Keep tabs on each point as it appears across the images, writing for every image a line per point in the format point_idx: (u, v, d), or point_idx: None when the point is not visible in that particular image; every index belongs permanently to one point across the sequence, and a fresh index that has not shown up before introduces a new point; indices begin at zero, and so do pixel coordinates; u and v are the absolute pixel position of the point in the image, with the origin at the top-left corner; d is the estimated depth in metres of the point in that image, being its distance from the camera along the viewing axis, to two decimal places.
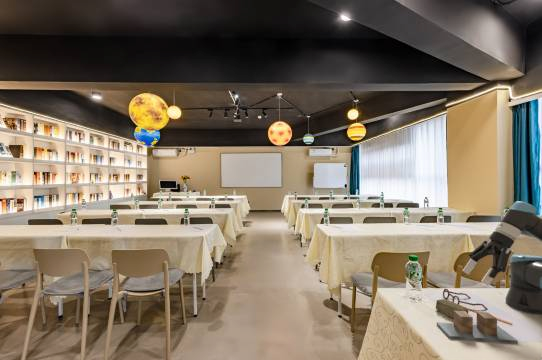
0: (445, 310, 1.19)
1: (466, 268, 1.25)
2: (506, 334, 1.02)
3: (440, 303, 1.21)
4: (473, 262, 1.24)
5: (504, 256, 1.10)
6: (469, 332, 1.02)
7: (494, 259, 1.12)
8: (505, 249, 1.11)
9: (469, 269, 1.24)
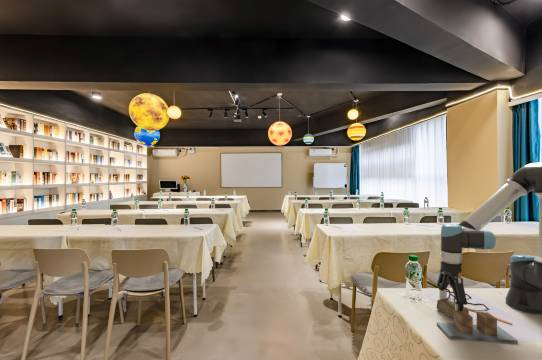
0: (445, 310, 1.19)
1: None
2: (506, 334, 1.02)
3: (441, 303, 1.22)
4: (443, 292, 1.26)
5: (459, 288, 1.12)
6: (469, 332, 1.02)
7: (454, 292, 1.14)
8: (456, 280, 1.13)
9: None
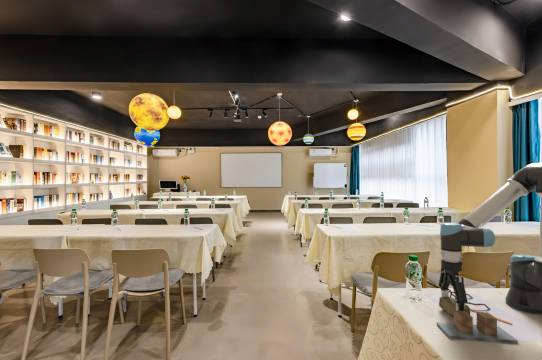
0: (447, 307, 1.19)
1: None
2: (506, 334, 1.02)
3: (442, 300, 1.22)
4: (445, 293, 1.25)
5: (460, 287, 1.12)
6: (469, 332, 1.02)
7: (454, 291, 1.15)
8: (457, 279, 1.13)
9: None
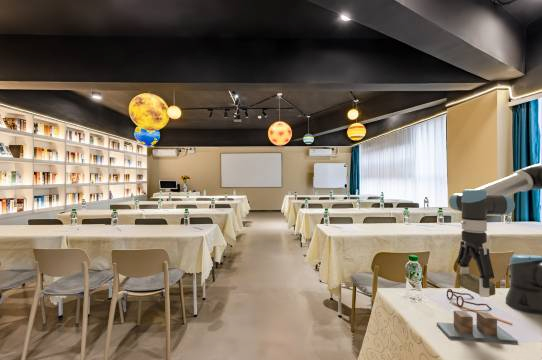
0: (467, 284, 1.05)
1: None
2: (506, 334, 1.02)
3: (462, 277, 1.07)
4: (465, 269, 1.11)
5: (485, 259, 0.98)
6: (469, 332, 1.02)
7: (478, 265, 1.00)
8: (482, 251, 0.98)
9: None
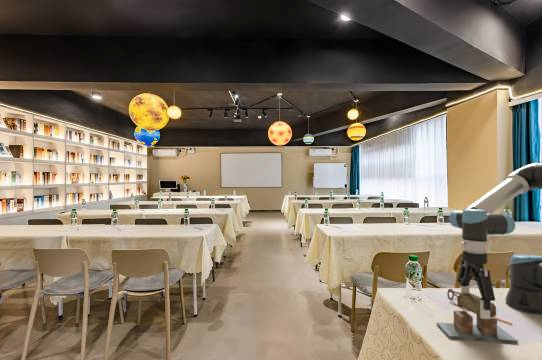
0: (468, 305, 1.05)
1: None
2: (506, 334, 1.02)
3: (463, 297, 1.07)
4: (465, 289, 1.10)
5: (485, 281, 0.97)
6: (469, 332, 1.02)
7: (479, 286, 1.00)
8: (482, 273, 0.98)
9: None
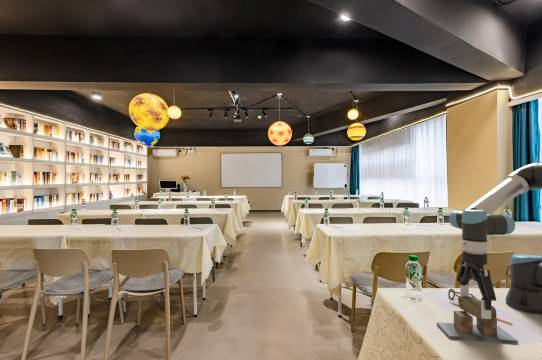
0: (468, 308, 1.04)
1: None
2: (506, 334, 1.02)
3: (463, 300, 1.07)
4: (465, 287, 1.11)
5: (486, 281, 0.97)
6: (469, 332, 1.02)
7: (479, 287, 1.00)
8: (482, 273, 0.98)
9: None
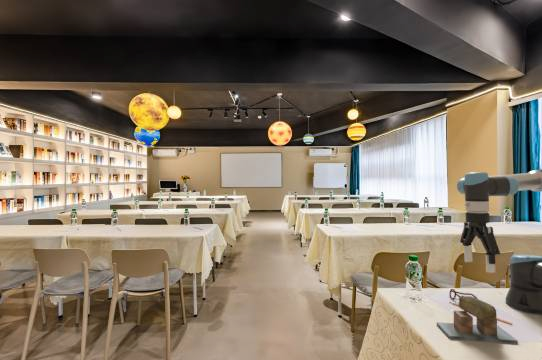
0: (468, 308, 1.04)
1: (466, 257, 1.17)
2: (506, 334, 1.02)
3: (463, 300, 1.07)
4: (468, 248, 1.17)
5: (489, 237, 1.03)
6: (469, 332, 1.02)
7: (483, 243, 1.05)
8: (486, 229, 1.04)
9: (469, 256, 1.16)
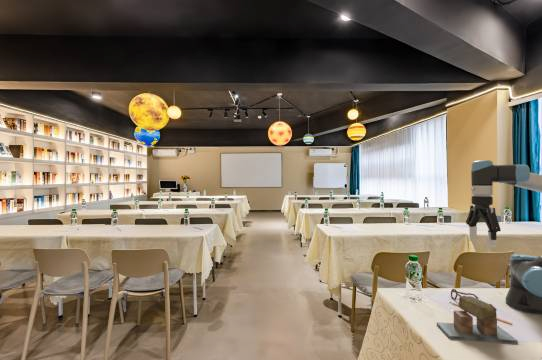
0: (468, 308, 1.04)
1: (471, 237, 1.31)
2: (506, 334, 1.02)
3: (463, 300, 1.07)
4: (473, 228, 1.31)
5: (492, 216, 1.17)
6: (469, 332, 1.02)
7: (486, 222, 1.20)
8: (489, 210, 1.18)
9: (474, 236, 1.31)
